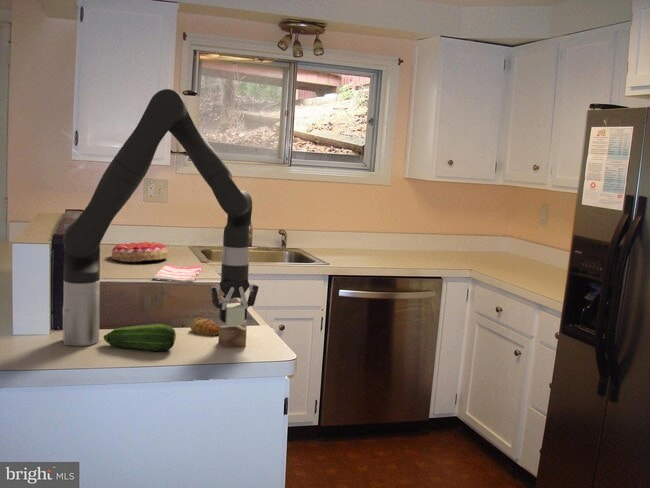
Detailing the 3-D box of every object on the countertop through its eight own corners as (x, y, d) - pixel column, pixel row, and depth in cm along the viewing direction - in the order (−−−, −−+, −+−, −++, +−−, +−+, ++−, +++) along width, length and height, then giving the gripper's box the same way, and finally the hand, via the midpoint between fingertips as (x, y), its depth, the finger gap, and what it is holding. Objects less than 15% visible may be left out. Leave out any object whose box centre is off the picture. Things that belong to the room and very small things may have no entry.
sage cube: (227, 325, 183) (227, 308, 182) (221, 321, 188) (222, 303, 187) (244, 324, 185) (244, 307, 185) (238, 319, 190) (239, 302, 189)
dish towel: (203, 272, 287) (203, 264, 286) (194, 284, 264) (194, 275, 263) (163, 270, 286) (163, 262, 286) (151, 281, 263) (151, 273, 263)
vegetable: (173, 322, 175) (101, 317, 178) (168, 350, 173) (95, 343, 175) (181, 328, 182) (111, 323, 185) (176, 354, 180) (106, 348, 182)
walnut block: (225, 349, 183) (225, 331, 183) (218, 342, 189) (219, 325, 188) (245, 347, 186) (246, 330, 185) (238, 341, 191) (239, 324, 191)
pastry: (226, 333, 198) (226, 321, 198) (211, 338, 193) (211, 325, 192) (203, 327, 203) (203, 315, 203) (187, 332, 198) (187, 319, 197)
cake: (169, 262, 297) (169, 245, 296) (111, 264, 290) (110, 246, 290) (167, 256, 321) (166, 240, 320) (112, 258, 314) (112, 241, 313)
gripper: (214, 265, 177) (212, 326, 180) (264, 263, 184) (261, 323, 186) (206, 260, 184) (204, 319, 187) (255, 259, 190) (252, 316, 193)
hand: (233, 321), depth 186 cm, fingers closed on sage cube, 5 cm apart
